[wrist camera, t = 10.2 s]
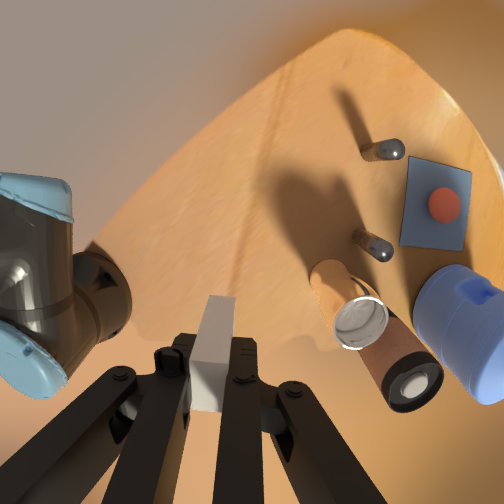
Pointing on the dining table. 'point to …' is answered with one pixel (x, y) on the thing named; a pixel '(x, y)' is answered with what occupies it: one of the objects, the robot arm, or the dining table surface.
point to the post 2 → (373, 245)
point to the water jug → (464, 328)
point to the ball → (444, 205)
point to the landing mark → (417, 210)
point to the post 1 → (383, 150)
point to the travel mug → (402, 367)
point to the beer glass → (348, 305)
